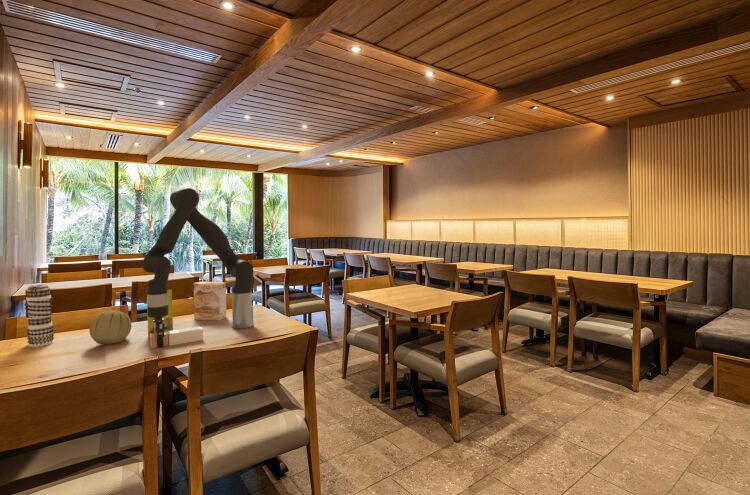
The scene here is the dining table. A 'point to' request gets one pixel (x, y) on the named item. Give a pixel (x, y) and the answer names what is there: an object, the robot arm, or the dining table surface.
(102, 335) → the cantaloupe
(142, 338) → the dining table surface
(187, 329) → the white rectangular block
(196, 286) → the coffeecake box
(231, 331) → the dining table surface
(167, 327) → the food package
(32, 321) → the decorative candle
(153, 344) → the stub
